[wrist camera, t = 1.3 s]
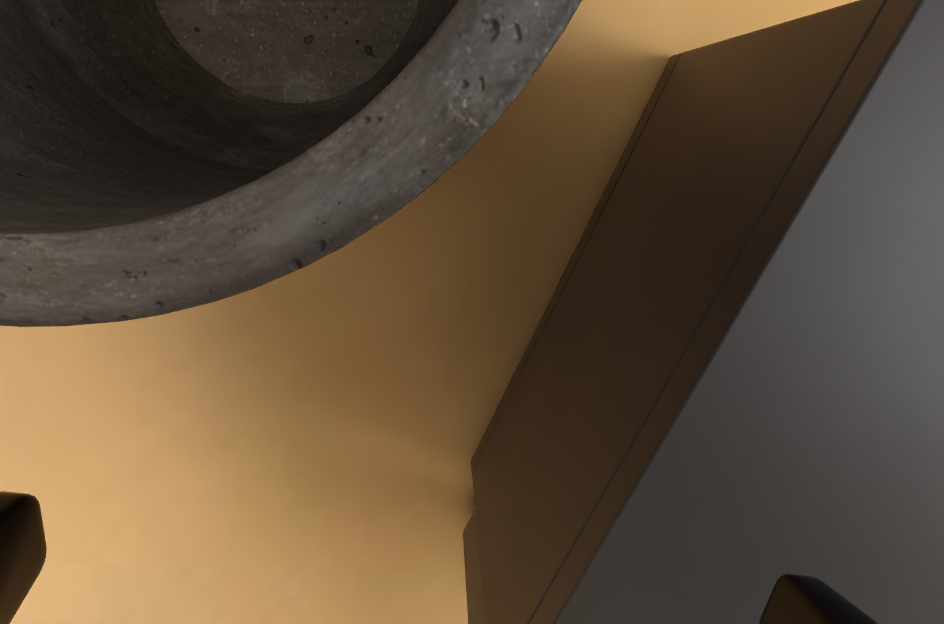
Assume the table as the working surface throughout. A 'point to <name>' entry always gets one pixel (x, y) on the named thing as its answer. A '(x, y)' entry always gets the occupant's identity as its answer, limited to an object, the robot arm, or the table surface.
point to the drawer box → (742, 347)
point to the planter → (230, 136)
